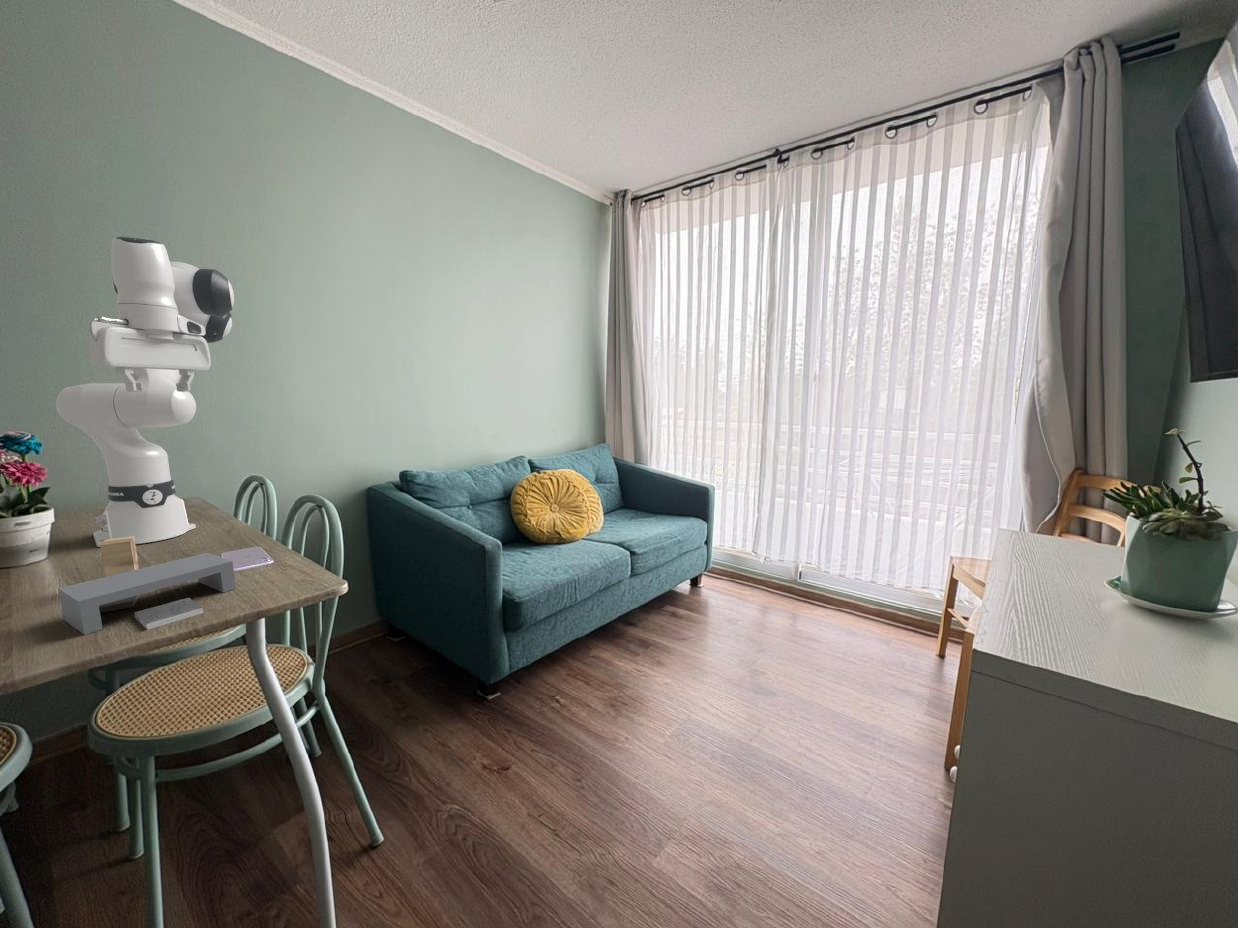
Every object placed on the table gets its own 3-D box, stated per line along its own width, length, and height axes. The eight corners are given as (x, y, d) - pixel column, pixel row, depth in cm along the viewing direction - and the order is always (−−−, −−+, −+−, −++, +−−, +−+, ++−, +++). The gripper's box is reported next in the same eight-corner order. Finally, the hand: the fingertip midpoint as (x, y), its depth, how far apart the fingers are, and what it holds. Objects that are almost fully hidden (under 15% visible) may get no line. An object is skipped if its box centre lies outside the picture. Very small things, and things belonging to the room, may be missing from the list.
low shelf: (63, 619, 79) (58, 588, 78) (211, 578, 97) (208, 552, 96) (84, 634, 74) (78, 601, 74) (235, 588, 92) (232, 561, 91)
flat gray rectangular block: (135, 620, 80) (134, 612, 80) (189, 605, 86) (188, 597, 86) (147, 632, 76) (146, 623, 76) (203, 615, 82) (202, 607, 82)
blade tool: (104, 585, 93) (97, 540, 92) (147, 578, 97) (140, 535, 95) (83, 616, 81) (74, 565, 79) (133, 606, 84) (125, 557, 83)
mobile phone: (260, 544, 116) (274, 559, 106) (260, 548, 116) (275, 564, 106) (219, 552, 110) (230, 569, 100) (220, 556, 110) (231, 573, 100)
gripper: (101, 314, 86) (114, 392, 88) (212, 328, 106) (220, 391, 108) (72, 314, 87) (85, 392, 89) (187, 328, 107) (196, 391, 109)
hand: (160, 391), depth 99 cm, fingers open, 8 cm apart
